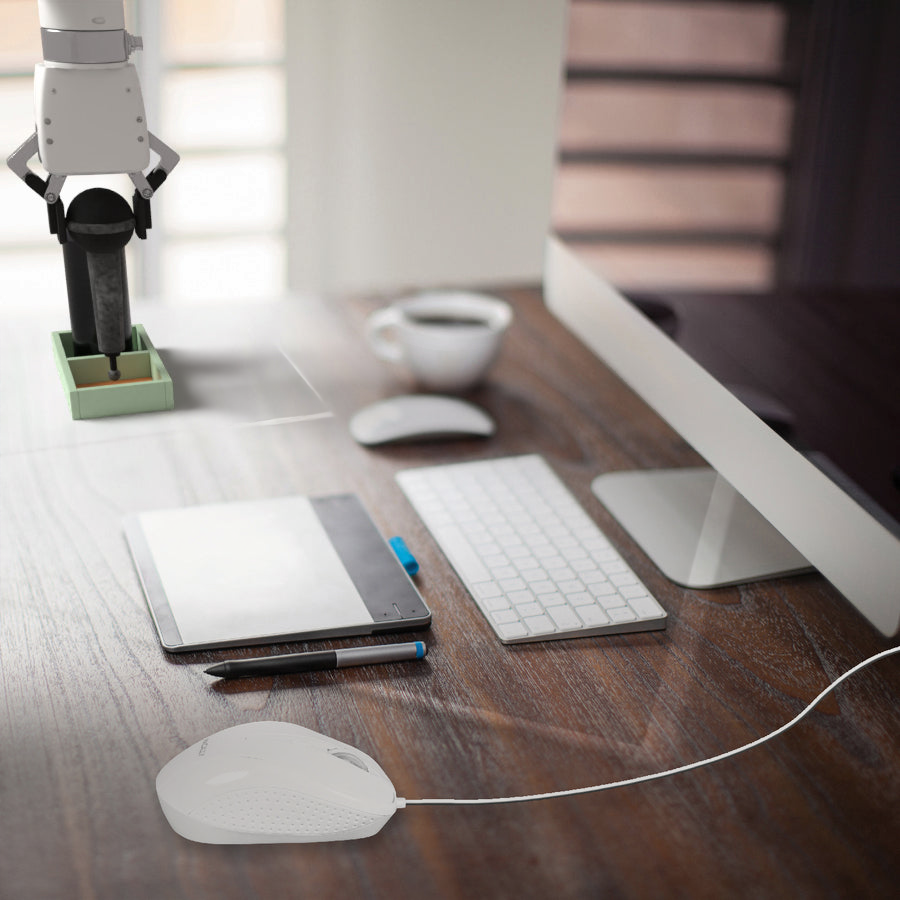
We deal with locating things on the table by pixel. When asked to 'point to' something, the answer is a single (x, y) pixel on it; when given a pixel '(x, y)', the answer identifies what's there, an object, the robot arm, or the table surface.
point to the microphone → (104, 261)
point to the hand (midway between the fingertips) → (102, 237)
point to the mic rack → (100, 396)
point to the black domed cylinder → (89, 301)
